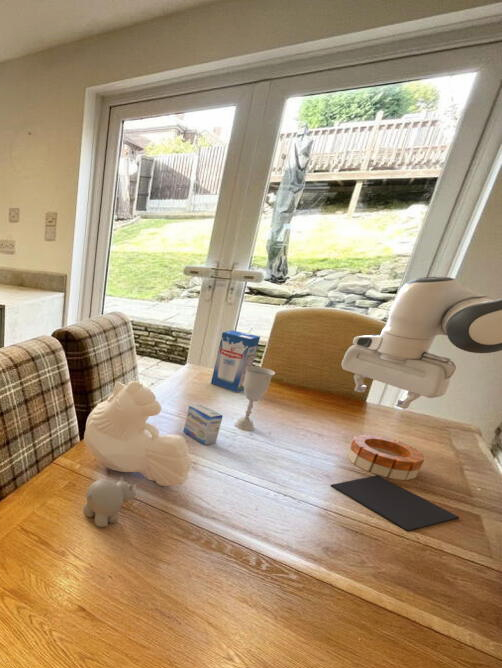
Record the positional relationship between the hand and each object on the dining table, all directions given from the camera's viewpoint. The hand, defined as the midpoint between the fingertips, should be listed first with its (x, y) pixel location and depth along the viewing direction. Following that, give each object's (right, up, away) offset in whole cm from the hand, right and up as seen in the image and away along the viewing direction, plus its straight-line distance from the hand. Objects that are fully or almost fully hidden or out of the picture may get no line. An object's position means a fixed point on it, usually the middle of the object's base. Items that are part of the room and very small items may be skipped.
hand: (379, 399), depth 99 cm
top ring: (+1, -14, 0) cm, 14 cm away
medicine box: (-38, -12, +13) cm, 42 cm away
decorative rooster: (-64, -18, -3) cm, 66 cm away
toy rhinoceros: (-72, -23, -16) cm, 78 cm away
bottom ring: (+1, -17, +1) cm, 17 cm away
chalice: (-22, -9, +19) cm, 31 cm away
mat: (-9, -22, -12) cm, 27 cm away
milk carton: (-9, +2, +48) cm, 49 cm away
